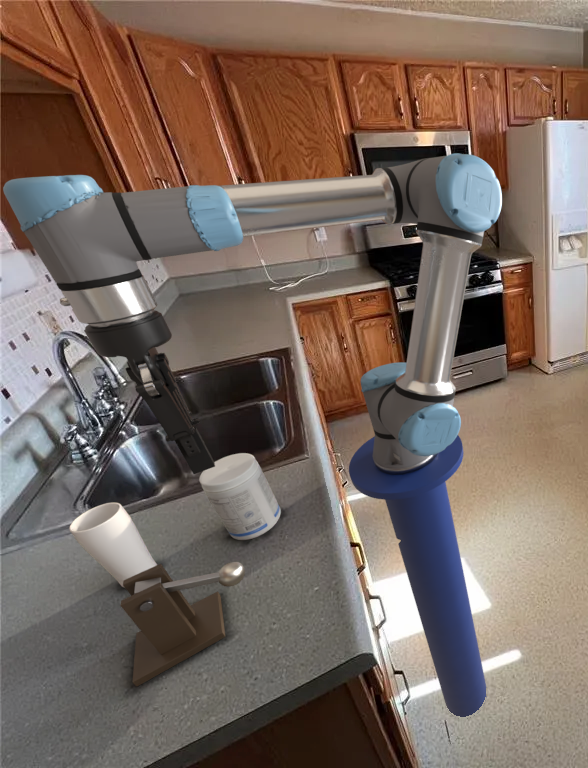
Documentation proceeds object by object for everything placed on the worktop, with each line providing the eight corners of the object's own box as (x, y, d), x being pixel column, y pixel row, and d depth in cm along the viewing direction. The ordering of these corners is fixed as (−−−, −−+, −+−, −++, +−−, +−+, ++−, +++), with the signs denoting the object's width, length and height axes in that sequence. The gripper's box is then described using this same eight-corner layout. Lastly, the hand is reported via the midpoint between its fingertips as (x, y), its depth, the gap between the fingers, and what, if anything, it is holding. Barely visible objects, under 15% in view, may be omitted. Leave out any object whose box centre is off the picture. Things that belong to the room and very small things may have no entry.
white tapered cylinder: (109, 585, 74) (59, 525, 67) (151, 556, 79) (109, 497, 72) (129, 599, 71) (79, 537, 64) (171, 567, 76) (130, 507, 69)
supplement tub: (254, 504, 90) (227, 450, 83) (292, 508, 88) (267, 453, 81) (218, 540, 81) (184, 483, 74) (259, 545, 79) (228, 487, 72)
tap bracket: (220, 595, 70) (187, 543, 64) (225, 637, 64) (188, 582, 58) (139, 637, 65) (94, 584, 59) (136, 687, 58) (85, 633, 52)
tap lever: (242, 573, 68) (244, 554, 68) (245, 588, 66) (247, 569, 65) (134, 595, 60) (135, 575, 59) (133, 614, 57) (134, 593, 56)
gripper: (89, 313, 53) (173, 458, 65) (71, 339, 44) (174, 504, 55) (160, 299, 57) (228, 439, 68) (158, 321, 48) (237, 478, 59)
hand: (204, 467), depth 62 cm, fingers closed
